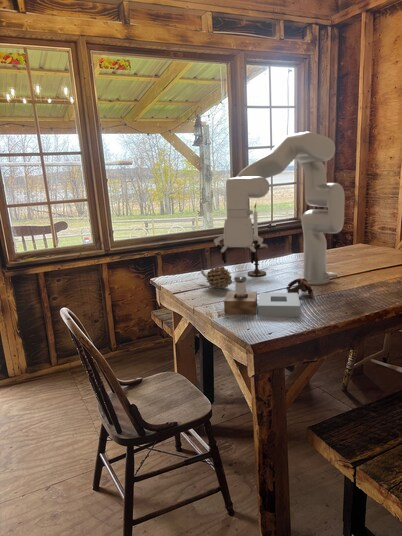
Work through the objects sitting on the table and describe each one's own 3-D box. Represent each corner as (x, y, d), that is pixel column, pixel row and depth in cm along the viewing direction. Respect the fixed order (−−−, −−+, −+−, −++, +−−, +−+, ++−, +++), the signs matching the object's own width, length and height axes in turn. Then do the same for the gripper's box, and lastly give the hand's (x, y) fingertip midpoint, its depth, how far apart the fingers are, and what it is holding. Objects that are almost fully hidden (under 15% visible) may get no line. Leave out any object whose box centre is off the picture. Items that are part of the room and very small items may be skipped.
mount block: (257, 304, 139) (256, 291, 138) (255, 314, 129) (255, 301, 128) (228, 303, 142) (227, 291, 140) (224, 314, 131) (224, 301, 130)
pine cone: (239, 289, 159) (238, 266, 157) (222, 294, 153) (221, 271, 151) (207, 279, 176) (206, 259, 174) (191, 284, 171) (189, 263, 168)
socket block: (297, 302, 138) (297, 292, 137) (300, 316, 125) (300, 305, 124) (259, 302, 141) (259, 292, 140) (258, 316, 127) (258, 305, 126)
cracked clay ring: (314, 302, 139) (303, 285, 137) (292, 310, 144) (281, 293, 142) (318, 286, 148) (308, 269, 146) (297, 293, 154) (287, 277, 152)
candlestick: (272, 275, 177) (271, 201, 168) (252, 278, 173) (250, 203, 165) (261, 270, 187) (259, 200, 178) (241, 273, 183) (239, 202, 175)
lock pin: (247, 307, 137) (246, 276, 134) (246, 311, 133) (245, 279, 130) (236, 307, 138) (235, 276, 135) (235, 311, 134) (233, 279, 131)
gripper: (263, 212, 129) (263, 260, 133) (214, 214, 132) (216, 260, 136) (262, 214, 122) (263, 265, 125) (211, 216, 125) (213, 265, 129)
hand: (238, 262), depth 131 cm, fingers open, 9 cm apart
